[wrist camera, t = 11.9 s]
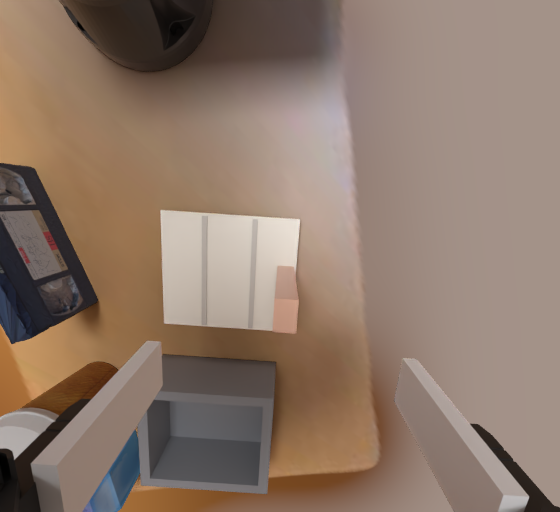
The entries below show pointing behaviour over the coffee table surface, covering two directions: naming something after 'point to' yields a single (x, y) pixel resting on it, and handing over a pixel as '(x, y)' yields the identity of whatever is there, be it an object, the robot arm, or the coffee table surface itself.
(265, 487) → the tub
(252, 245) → the lid
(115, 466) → the perfume bottle
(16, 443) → the disposable coffee cup
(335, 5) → the coffee table surface
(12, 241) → the vhs cassette tape
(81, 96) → the coffee table surface
